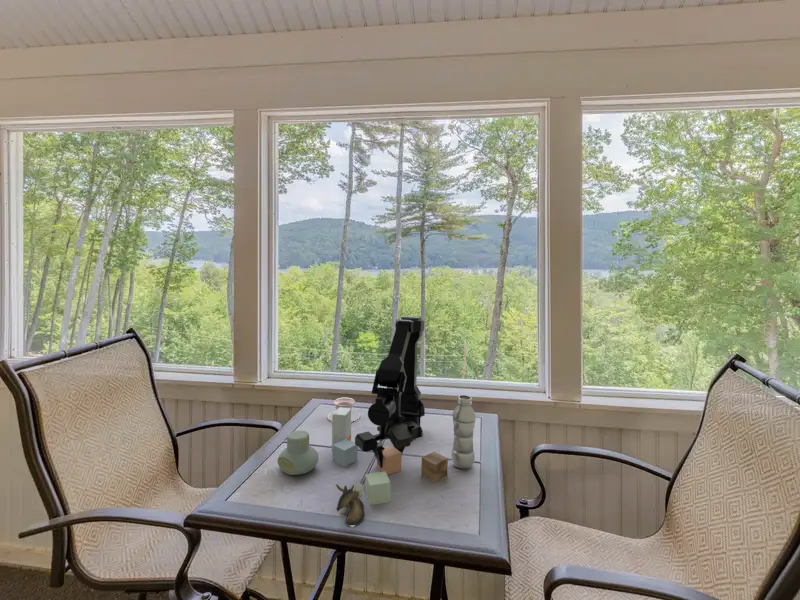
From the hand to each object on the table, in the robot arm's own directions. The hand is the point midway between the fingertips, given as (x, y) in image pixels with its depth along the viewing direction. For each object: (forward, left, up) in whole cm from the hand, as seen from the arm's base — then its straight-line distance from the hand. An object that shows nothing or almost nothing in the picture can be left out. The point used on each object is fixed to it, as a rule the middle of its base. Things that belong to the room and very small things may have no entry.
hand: (389, 464), depth 107 cm
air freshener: (+22, -12, -1) cm, 25 cm away
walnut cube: (-9, +9, -1) cm, 13 cm away
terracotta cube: (0, 0, -1) cm, 1 cm away
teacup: (-3, -39, -1) cm, 39 cm away
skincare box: (+7, -17, -1) cm, 18 cm away
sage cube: (+9, +10, -1) cm, 14 cm away
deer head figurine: (+17, +12, -1) cm, 21 cm away
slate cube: (+9, -10, -1) cm, 14 cm away
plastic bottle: (-19, +9, -1) cm, 21 cm away
